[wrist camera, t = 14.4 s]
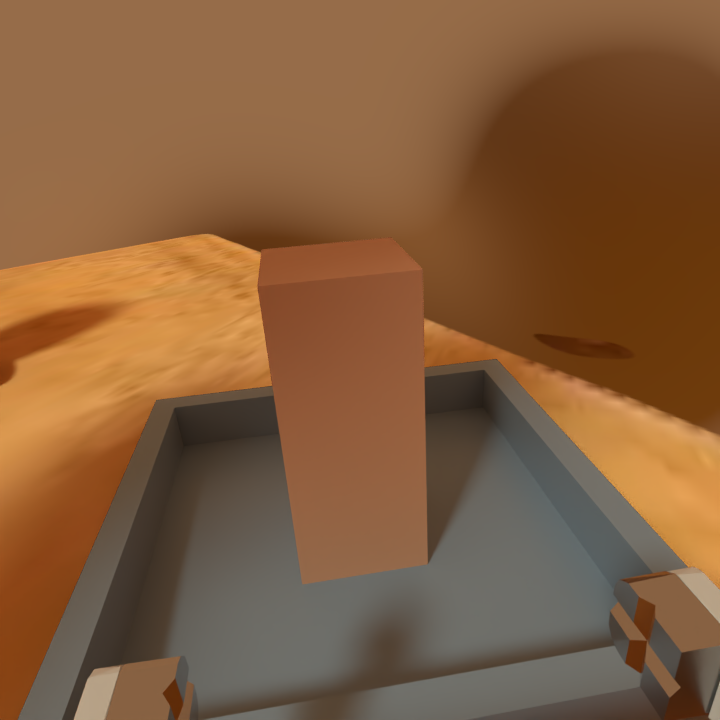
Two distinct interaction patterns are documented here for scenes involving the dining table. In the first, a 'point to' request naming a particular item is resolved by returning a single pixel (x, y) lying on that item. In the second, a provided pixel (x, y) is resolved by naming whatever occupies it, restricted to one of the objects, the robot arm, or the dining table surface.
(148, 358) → the dining table surface
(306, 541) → the terracotta block
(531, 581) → the tray
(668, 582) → the robot arm
